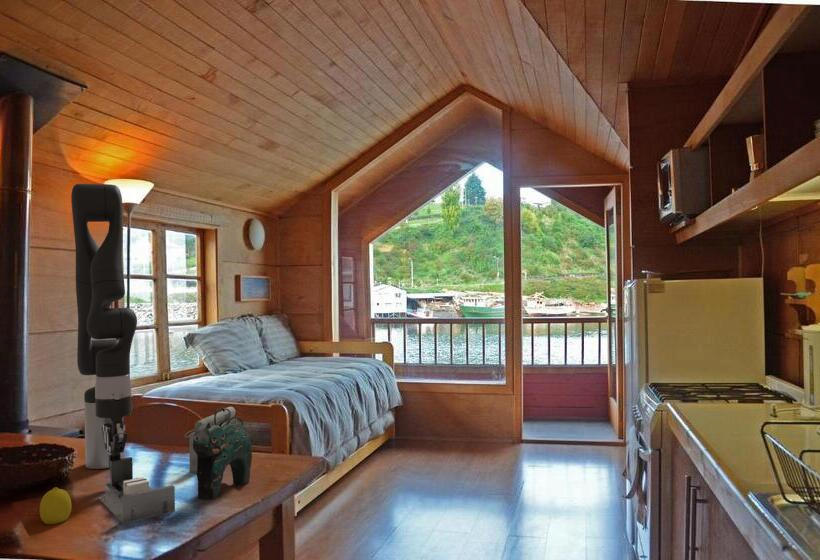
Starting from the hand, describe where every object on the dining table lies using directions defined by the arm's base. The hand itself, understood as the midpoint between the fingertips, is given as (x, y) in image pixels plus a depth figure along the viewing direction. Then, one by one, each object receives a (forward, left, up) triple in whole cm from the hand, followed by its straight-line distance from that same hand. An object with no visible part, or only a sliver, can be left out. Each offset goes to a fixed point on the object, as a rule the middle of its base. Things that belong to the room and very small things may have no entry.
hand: (114, 470), depth 146 cm
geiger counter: (-7, +27, -6) cm, 28 cm away
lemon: (+14, -15, -6) cm, 21 cm away
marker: (+16, 0, -4) cm, 17 cm away
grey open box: (+15, 0, -5) cm, 16 cm away
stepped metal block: (+9, 0, -4) cm, 10 cm away
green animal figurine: (+17, +19, -6) cm, 26 cm away
